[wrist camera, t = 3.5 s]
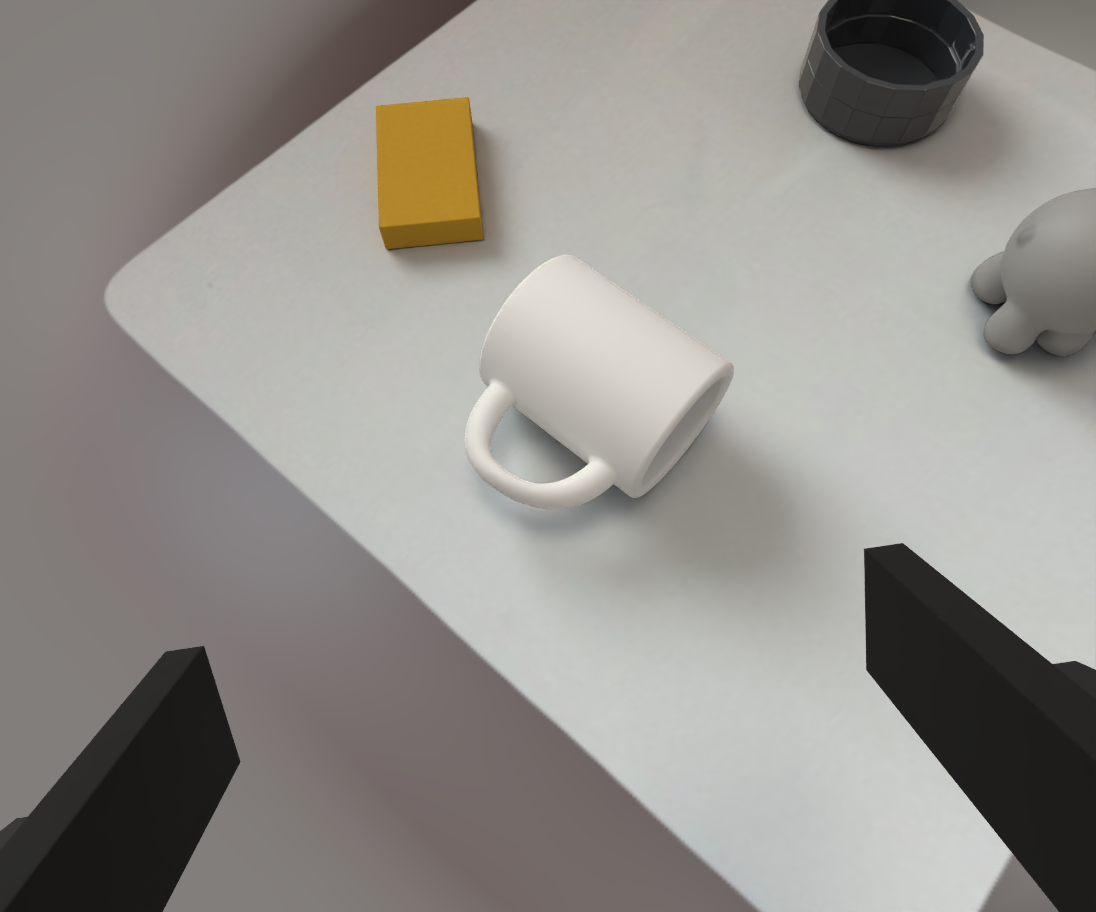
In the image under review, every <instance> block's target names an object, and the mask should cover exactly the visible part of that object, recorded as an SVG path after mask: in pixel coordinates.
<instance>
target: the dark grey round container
mask: <svg viewBox="0 0 1096 912" xmlns="http://www.w3.org/2000/svg"><path fill="white" fill-rule="evenodd" d="M983 38H984V35H983V33H982V31H981V29H980V27H979V25H978V23H977V21H976V19H975V17H974V16H973V15H972V14H971V13H970V12H969V11H968V10H967V9H966V8H965V7H964V6H963V5H961V4H960V3H959V2H958V1H957V0H828V2H827V3H826V4H825V6H824V7H823V8H822V10H821V11H820V13H819V15H818V18H817V21H816V24H815V27H814V30H813V33H812V36H811V39H810V43H809V46H808V49H807V52H806V55H805V58H804V61H803V64H802V67H801V73H800V80H799V87H800V90H801V94H802V98H803V101H804V103H805V106H806V108H807V109H808V111H809V112H810V114H811V115H812V116H813V117H814V119H815V120H816V121H817V122H819V123H820V124H821V125H822V126H823V127H825V128H826V129H827V130H829V131H830V132H832V133H834V134H836V135H837V136H840V137H842V138H844V139H847V140H849V141H852V142H856V143H860V144H864V145H870V146H897V145H903V144H907V143H911V142H914V141H916V140H919V139H921V138H922V137H924V136H926V135H927V134H929V133H930V132H932V131H934V130H935V129H937V128H938V127H940V126H941V125H942V124H943V123H944V121H945V120H946V118H947V116H948V115H949V113H950V111H951V110H952V108H953V106H954V105H955V103H956V101H957V100H958V98H959V96H960V94H961V93H962V91H963V89H964V87H965V86H966V84H967V82H968V80H969V79H970V77H971V75H972V74H973V72H974V70H975V68H976V67H977V65H978V63H979V61H980V60H981V58H982V56H983Z"/></svg>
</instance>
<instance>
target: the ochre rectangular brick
mask: <svg viewBox="0 0 1096 912" xmlns="http://www.w3.org/2000/svg"><path fill="white" fill-rule="evenodd" d="M376 131H377V169H378V206H379V229H380V232H381V235H382V238H383V241H384V244H385V247H386V249H395V248H405V247H415V246H425V245H435V244H445V243H455V242H465V241H474V240H483V228H482V218H481V208H480V198H479V187H478V177H477V167H476V157H475V146H474V136H473V126H472V117H471V110H470V103H469V98H468V97H464V98H454V99H444V100H433V101H423V102H412V103H402V104H391V105H381V106H376Z"/></svg>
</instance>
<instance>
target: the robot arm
mask: <svg viewBox="0 0 1096 912" xmlns="http://www.w3.org/2000/svg"><path fill="white" fill-rule="evenodd" d="M864 565H865V618H866V670H867V671H868V673H869V674H870V675H871V676H872V678H873V679H874V680H875V681H876V683H877V684H878V685H879V686H880V688H881V689H882V690H883V691H884V693H885V694H886V695H887V696H888V698H889V699H890V700H891V701H892V703H893V704H894V705H895V706H896V708H897V709H898V710H899V711H900V713H901V714H902V715H903V716H904V718H905V719H906V720H907V721H908V723H909V724H910V725H911V726H912V728H913V729H914V730H915V732H916V733H917V734H918V735H919V737H920V738H921V739H922V740H923V742H924V743H925V744H926V745H927V747H928V748H929V749H930V750H931V752H932V753H933V754H934V755H935V757H936V758H937V759H938V760H939V762H940V763H941V764H942V765H943V767H944V768H945V769H946V770H947V772H948V773H949V774H950V775H951V777H952V778H953V779H954V780H955V782H956V783H957V784H958V785H959V787H960V788H961V789H962V790H963V792H964V793H965V794H966V795H967V797H968V798H969V799H970V801H971V802H972V803H973V804H974V806H975V807H976V808H977V809H978V811H979V812H980V813H981V814H982V816H983V817H984V818H985V819H986V821H987V822H988V823H989V824H990V826H991V827H992V828H993V829H994V831H995V832H996V833H997V834H998V836H999V837H1000V838H1001V839H1002V841H1003V842H1004V843H1005V844H1006V846H1007V847H1008V848H1009V849H1010V851H1011V852H1012V853H1013V854H1014V856H1015V857H1016V858H1017V859H1018V861H1019V862H1020V863H1021V864H1022V866H1023V867H1024V868H1025V870H1026V871H1027V872H1028V873H1029V874H1030V876H1031V877H1032V878H1033V880H1034V881H1035V882H1036V883H1037V884H1038V886H1039V887H1040V888H1041V890H1042V891H1043V892H1044V893H1045V895H1046V896H1047V897H1048V898H1049V899H1050V901H1051V902H1052V903H1053V905H1054V906H1055V907H1056V908H1057V910H1058V911H1059V912H1096V670H1095V669H1093V668H1090V667H1088V666H1086V665H1084V664H1081V663H1079V662H1077V661H1071V662H1065V663H1058V664H1052V663H1050V662H1049V661H1048V660H1047V659H1045V658H1044V657H1043V656H1042V655H1040V654H1039V653H1038V652H1037V651H1036V650H1034V649H1033V648H1032V647H1031V646H1029V645H1028V644H1027V643H1026V642H1024V641H1023V640H1022V639H1021V638H1019V637H1018V636H1017V635H1016V634H1014V633H1013V632H1012V631H1011V630H1010V629H1008V628H1007V627H1006V626H1005V625H1003V624H1002V623H1001V622H1000V621H998V620H997V619H996V618H995V617H993V616H992V615H991V614H990V613H989V612H987V611H986V610H985V609H984V608H982V607H981V606H980V605H979V604H977V603H976V602H975V601H974V600H972V599H971V598H970V597H969V596H967V595H966V594H965V593H964V592H963V591H961V590H960V589H959V588H958V587H956V586H955V585H954V584H953V583H951V582H950V581H949V580H948V579H946V578H945V577H944V576H943V575H941V574H940V573H939V572H938V571H937V570H935V569H934V568H933V567H932V566H930V565H929V564H928V563H927V562H925V561H924V560H923V559H922V558H920V557H919V556H918V555H917V554H916V553H914V552H913V551H912V550H911V549H909V548H908V547H907V546H906V545H904V544H903V543H901V544H894V545H887V546H880V547H874V548H867V549H864ZM239 764H240V759H239V756H238V753H237V750H236V747H235V743H234V740H233V737H232V734H231V731H230V727H229V724H228V721H227V718H226V715H225V712H224V708H223V705H222V702H221V699H220V696H219V693H218V689H217V686H216V683H215V679H214V676H213V673H212V670H211V667H210V664H209V660H208V657H207V655H206V651H205V648H204V646H201V647H194V648H188V649H180V650H174V651H167V652H165V653H164V654H163V655H162V657H161V658H160V659H159V660H158V662H157V663H156V664H155V665H154V666H153V667H152V669H151V670H150V671H149V672H148V673H147V675H146V676H145V677H144V678H143V679H142V681H141V682H140V683H139V684H138V685H137V687H136V688H135V689H134V690H133V691H132V693H131V694H130V695H129V696H128V697H127V698H126V700H125V701H124V702H123V703H122V704H121V706H120V707H119V708H118V709H117V710H116V712H115V713H114V714H113V715H112V716H111V718H110V719H109V720H108V721H107V723H106V724H105V725H104V726H103V727H102V729H101V730H100V731H99V732H98V733H97V734H96V736H95V737H94V738H93V739H92V741H91V742H90V743H89V744H88V745H87V746H86V748H85V749H84V750H83V751H82V753H81V754H80V755H79V756H78V757H77V759H76V760H75V761H74V762H73V763H72V765H71V766H70V767H69V768H68V769H67V771H66V772H65V773H64V774H63V775H62V776H61V778H60V779H59V780H58V781H57V783H56V784H55V785H54V786H53V787H52V789H51V790H50V791H49V792H48V793H47V795H46V796H45V797H44V798H43V799H42V800H41V802H40V803H39V804H38V805H37V806H36V808H35V809H34V810H33V811H32V812H31V814H30V815H29V816H28V817H24V818H17V819H15V820H14V821H13V822H12V823H10V824H9V825H8V826H6V827H5V828H4V829H3V830H1V831H0V912H163V910H164V908H165V906H166V904H167V902H168V900H169V898H170V896H171V894H172V893H173V891H174V888H175V887H176V885H177V883H178V881H179V879H180V877H181V875H182V873H183V871H184V869H185V867H186V866H187V864H188V862H189V860H190V858H191V856H192V854H193V852H194V850H195V848H196V846H197V844H198V843H199V841H200V838H201V837H202V835H203V833H204V831H205V829H206V827H207V825H208V823H209V821H210V819H211V817H212V816H213V814H214V812H215V810H216V808H217V806H218V804H219V802H220V800H221V798H222V796H223V794H224V792H225V791H226V789H227V787H228V785H229V783H230V781H231V779H232V777H233V775H234V773H235V771H236V769H237V767H238V765H239Z"/></svg>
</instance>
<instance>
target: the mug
mask: <svg viewBox="0 0 1096 912" xmlns="http://www.w3.org/2000/svg"><path fill="white" fill-rule="evenodd" d="M479 370H480V375H481V378H482V381H483V382H484V383H485V385H486V386H488V388H487V389H486V390H485V392H484V393H483V394H482V396H481V397H480V398H479V400H478V401H477V403H476V404H475V406H474V408H473V410H472V412H471V414H470V416H469V419H468V421H467V425H466V429H465V437H464V441H465V449H466V453H467V456H468V459H469V461H470V463H471V465H472V466H473V468H474V469H475V471H476V472H477V473H478V474H479V475H480V477H481V478H482V479H483V480H484V481H486V482H487V483H488V484H489V485H490V486H492V487H493V488H494V489H496V490H497V491H499V492H500V493H502V494H504V495H505V496H507V497H509V498H511V499H513V500H515V501H518V502H520V503H523V504H526V505H529V506H532V507H537V508H543V509H566V508H572V507H576V506H579V505H582V504H584V503H587V502H589V501H591V500H593V499H594V498H596V497H597V496H599V495H601V494H602V493H603V492H605V491H606V490H607V489H608V488H610V487H611V486H612V485H613V484H614V485H616V486H617V487H618V488H619V489H621V490H622V491H623V492H625V493H626V494H627V495H628V496H630V497H632V498H638V497H640V496H642V495H644V494H645V493H647V492H648V491H649V490H650V489H652V488H653V487H654V486H655V485H656V484H657V483H658V482H659V481H660V480H661V479H662V478H663V477H664V476H665V475H666V474H667V473H668V472H669V471H670V469H671V468H672V467H673V466H674V465H675V464H676V463H677V461H678V460H679V459H680V458H681V457H682V455H683V454H684V453H685V452H686V450H687V449H688V448H689V447H690V445H691V444H692V443H693V441H694V440H695V439H696V437H697V436H698V435H699V433H700V432H701V430H702V429H703V428H704V426H705V425H706V423H707V422H708V420H709V419H710V417H711V416H712V414H713V413H714V411H715V410H716V408H717V407H718V405H719V403H720V402H721V400H722V398H723V396H724V395H725V393H726V391H727V389H728V387H729V385H730V382H731V380H732V377H733V373H734V367H733V365H732V363H731V362H729V361H728V360H726V359H725V358H723V357H722V356H720V355H719V354H718V353H716V352H715V351H713V350H712V349H710V348H709V347H707V346H706V345H704V344H703V343H701V342H700V341H698V340H697V339H695V338H694V337H692V336H691V335H690V334H688V333H687V332H685V331H684V330H682V329H681V328H679V327H678V326H676V325H675V324H673V323H672V322H670V321H669V320H667V319H666V318H664V317H663V316H662V315H660V314H659V313H657V312H656V311H654V310H653V309H651V308H650V307H648V306H647V305H645V304H644V303H642V302H641V301H639V300H638V299H637V298H635V297H634V296H632V295H631V294H629V293H628V292H626V291H625V290H623V289H622V288H620V287H619V286H617V285H616V284H614V283H613V282H611V281H610V280H609V279H607V278H606V277H604V276H603V275H601V274H600V273H598V272H597V271H595V270H594V269H592V268H591V267H589V266H588V265H586V264H585V263H583V262H582V261H581V260H579V259H578V258H576V257H574V256H570V255H562V256H558V257H555V258H552V259H550V260H548V261H546V262H545V263H543V264H542V265H540V266H539V267H537V268H536V269H535V270H534V271H532V272H531V273H530V274H529V275H528V276H527V277H526V278H525V279H524V280H523V281H522V282H521V283H520V284H519V285H518V286H517V287H516V289H515V290H514V291H513V292H512V294H511V295H510V296H509V297H508V299H507V300H506V302H505V303H504V304H503V306H502V307H501V309H500V310H499V312H498V314H497V315H496V317H495V319H494V321H493V323H492V325H491V327H490V329H489V331H488V333H487V335H486V338H485V341H484V344H483V347H482V351H481V355H480V362H479ZM512 406H513V407H515V408H516V409H517V410H519V411H520V412H521V413H523V414H524V415H525V416H526V417H528V418H529V419H530V420H532V421H533V422H534V423H535V424H537V425H538V426H539V427H541V428H542V429H543V430H544V431H546V432H547V433H548V434H550V435H551V436H552V437H554V438H555V439H556V440H557V441H559V442H560V443H561V444H563V445H564V446H565V447H566V448H568V449H569V450H570V451H572V452H573V453H574V454H575V455H577V456H578V457H579V458H581V459H582V460H583V461H585V462H586V463H587V464H588V465H587V466H585V467H584V468H583V469H581V470H580V471H578V472H577V473H575V474H574V475H572V476H570V477H568V478H566V479H563V480H561V481H557V482H553V483H546V484H539V483H532V482H529V481H526V480H523V479H521V478H519V477H517V476H515V475H513V474H512V473H510V472H508V471H507V470H506V469H504V468H503V467H502V466H501V465H500V464H499V463H498V462H497V461H496V460H495V458H494V457H493V455H492V452H491V439H492V436H493V433H494V431H495V429H496V427H497V425H498V423H499V422H500V420H501V419H502V418H503V416H504V415H505V414H506V412H507V411H508V410H509V409H510V407H512Z"/></svg>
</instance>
